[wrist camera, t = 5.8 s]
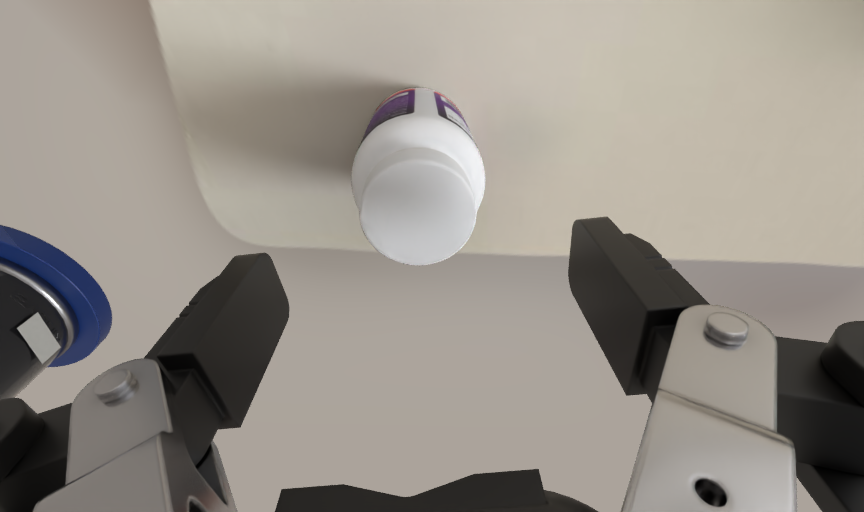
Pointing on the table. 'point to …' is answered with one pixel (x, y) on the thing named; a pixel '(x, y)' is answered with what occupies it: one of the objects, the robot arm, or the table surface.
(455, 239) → the pill bottle
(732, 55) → the table surface
